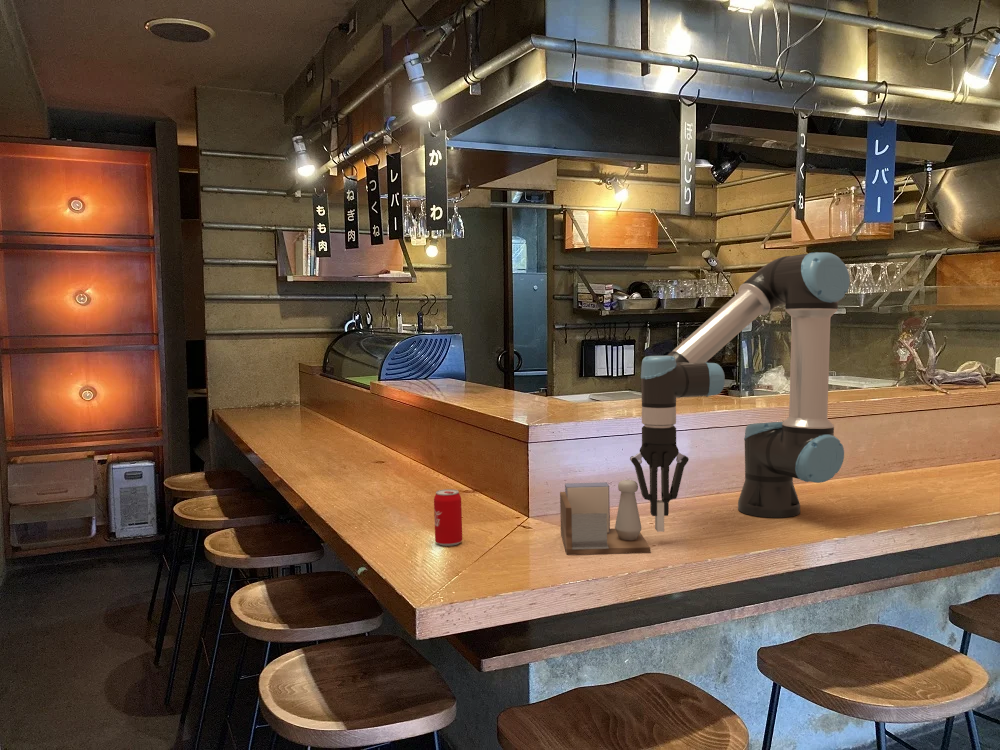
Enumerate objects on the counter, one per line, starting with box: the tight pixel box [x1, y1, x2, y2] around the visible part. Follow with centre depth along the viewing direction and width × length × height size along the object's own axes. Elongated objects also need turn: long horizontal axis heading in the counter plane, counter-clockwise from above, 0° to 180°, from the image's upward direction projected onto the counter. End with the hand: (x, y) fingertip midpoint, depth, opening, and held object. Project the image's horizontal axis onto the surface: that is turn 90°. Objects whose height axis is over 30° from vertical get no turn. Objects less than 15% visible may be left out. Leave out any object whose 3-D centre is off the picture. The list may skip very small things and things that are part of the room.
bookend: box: [572, 513, 609, 549], centre depth 171 cm, size 8×3×7 cm, turn 90°
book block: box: [564, 481, 611, 533], centre depth 184 cm, size 10×4×11 cm, turn 90°
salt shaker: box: [614, 479, 643, 541], centre depth 177 cm, size 6×6×13 cm
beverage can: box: [433, 488, 463, 547], centre depth 181 cm, size 6×6×12 cm
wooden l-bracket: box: [559, 491, 651, 556], centre depth 178 cm, size 18×16×10 cm
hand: (659, 529), depth 177 cm, fingers closed
